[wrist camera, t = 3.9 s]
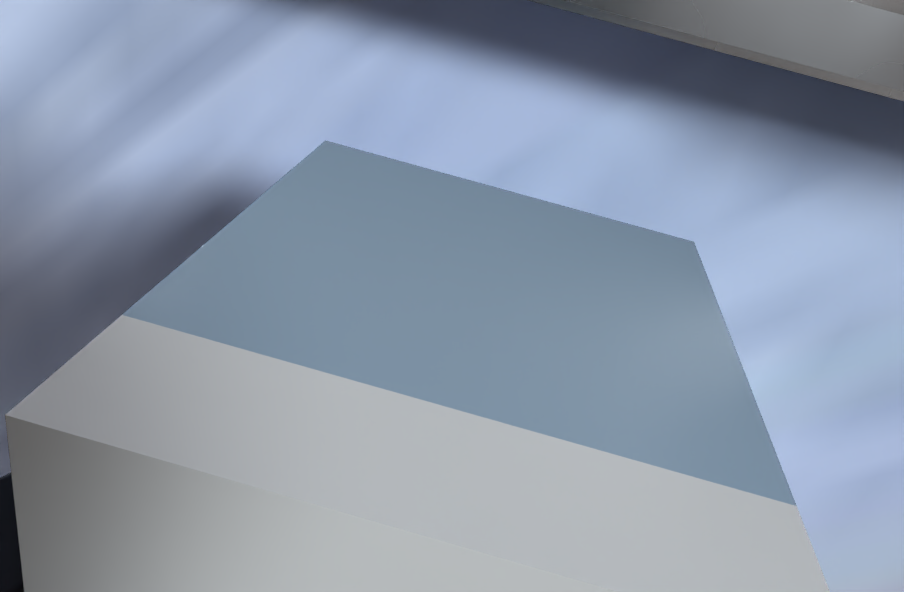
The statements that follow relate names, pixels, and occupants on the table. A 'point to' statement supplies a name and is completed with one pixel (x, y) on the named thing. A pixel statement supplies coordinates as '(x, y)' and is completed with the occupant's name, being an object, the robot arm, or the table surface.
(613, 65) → the table surface
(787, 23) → the din rail
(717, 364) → the block
